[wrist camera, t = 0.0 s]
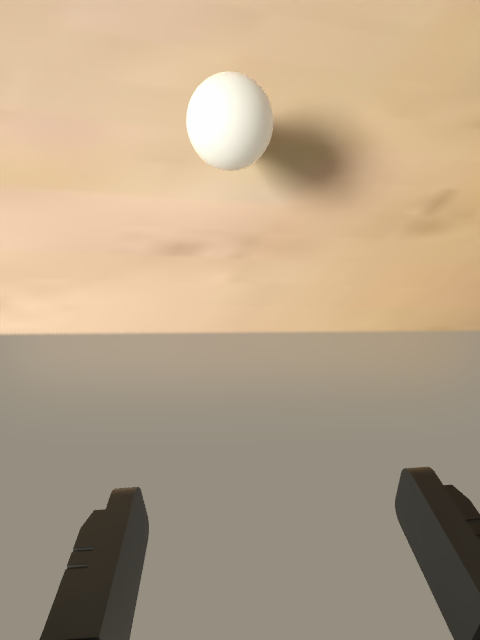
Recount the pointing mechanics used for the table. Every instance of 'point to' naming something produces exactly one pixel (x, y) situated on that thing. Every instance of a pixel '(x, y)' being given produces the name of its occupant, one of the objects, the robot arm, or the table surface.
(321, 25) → the table surface
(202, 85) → the lightbulb
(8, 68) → the table surface
